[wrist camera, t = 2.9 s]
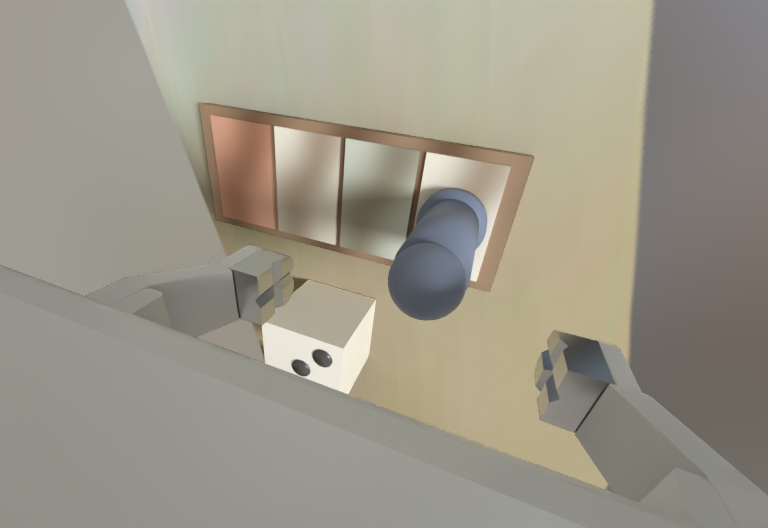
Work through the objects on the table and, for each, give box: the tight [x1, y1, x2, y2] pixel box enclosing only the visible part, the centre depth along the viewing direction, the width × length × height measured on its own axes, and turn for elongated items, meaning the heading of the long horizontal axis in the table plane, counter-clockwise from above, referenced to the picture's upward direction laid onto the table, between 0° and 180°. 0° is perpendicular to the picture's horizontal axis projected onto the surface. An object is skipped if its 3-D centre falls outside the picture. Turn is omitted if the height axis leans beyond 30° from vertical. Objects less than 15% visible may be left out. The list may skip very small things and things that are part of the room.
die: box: [262, 280, 376, 394], centre depth 24 cm, size 6×6×6 cm
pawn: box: [388, 188, 487, 320], centre depth 15 cm, size 4×4×9 cm
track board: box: [199, 103, 534, 292], centre depth 21 cm, size 22×8×1 cm, turn 85°
